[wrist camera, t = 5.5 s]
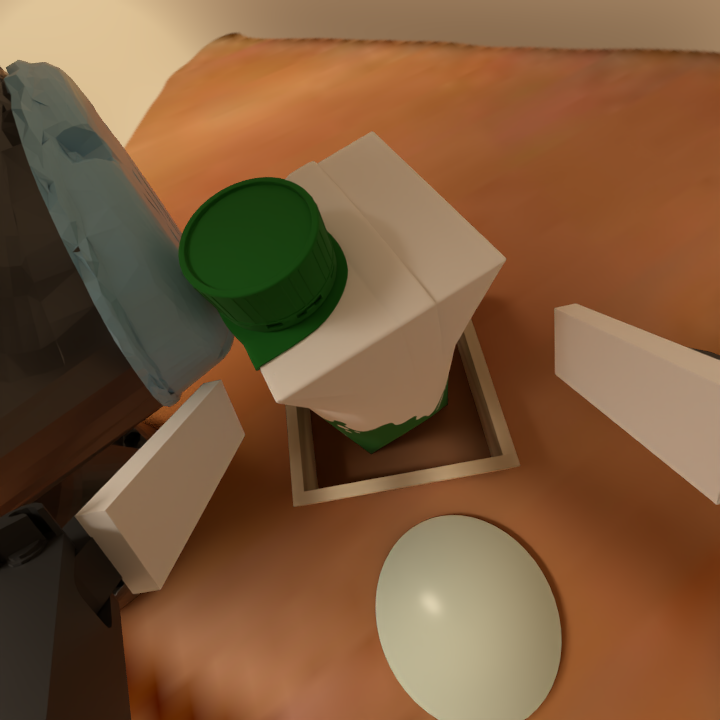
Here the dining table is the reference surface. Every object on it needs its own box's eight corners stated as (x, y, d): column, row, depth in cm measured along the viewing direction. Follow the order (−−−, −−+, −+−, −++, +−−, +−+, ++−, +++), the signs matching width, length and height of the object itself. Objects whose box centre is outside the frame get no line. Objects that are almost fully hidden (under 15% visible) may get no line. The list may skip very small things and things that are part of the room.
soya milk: (314, 380, 29) (127, 183, 10) (403, 324, 29) (372, 43, 11) (367, 472, 25) (226, 419, 7) (466, 407, 26) (578, 200, 8)
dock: (309, 504, 25) (293, 506, 22) (293, 333, 31) (278, 315, 28) (507, 469, 24) (520, 466, 21) (452, 297, 29) (455, 273, 26)
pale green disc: (394, 735, 20) (394, 742, 19) (364, 528, 24) (362, 529, 23) (589, 714, 19) (594, 720, 18) (520, 502, 23) (523, 502, 22)
